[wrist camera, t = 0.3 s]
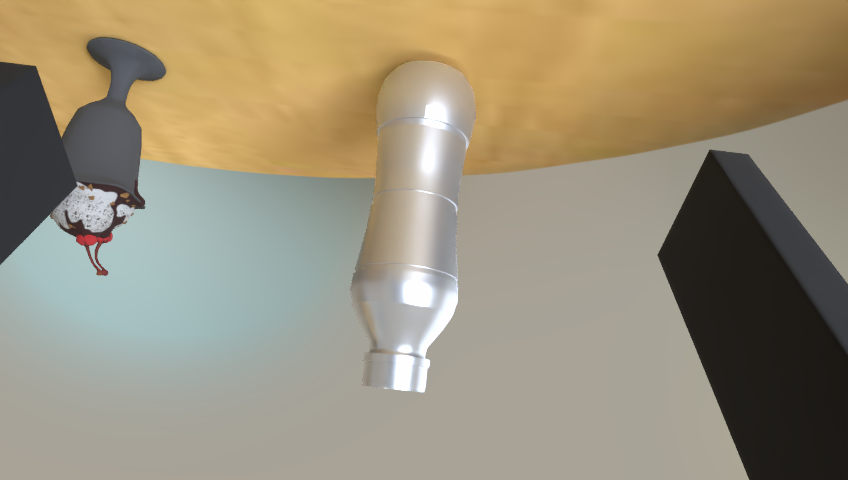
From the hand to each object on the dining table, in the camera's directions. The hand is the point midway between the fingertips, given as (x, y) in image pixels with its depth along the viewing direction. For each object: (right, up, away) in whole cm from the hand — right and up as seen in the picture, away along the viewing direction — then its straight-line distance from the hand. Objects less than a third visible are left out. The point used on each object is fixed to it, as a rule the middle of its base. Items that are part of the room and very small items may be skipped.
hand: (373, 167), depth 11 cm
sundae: (-19, +11, +27) cm, 35 cm away
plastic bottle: (+2, +10, +25) cm, 27 cm away
